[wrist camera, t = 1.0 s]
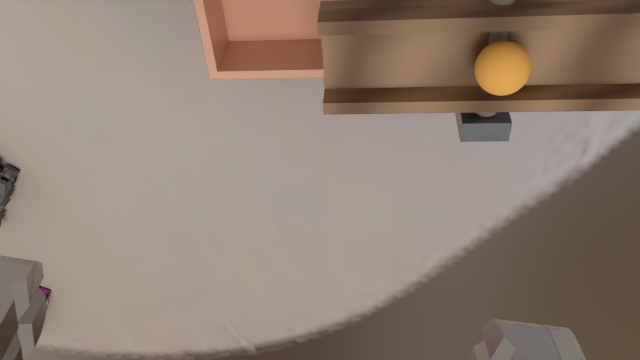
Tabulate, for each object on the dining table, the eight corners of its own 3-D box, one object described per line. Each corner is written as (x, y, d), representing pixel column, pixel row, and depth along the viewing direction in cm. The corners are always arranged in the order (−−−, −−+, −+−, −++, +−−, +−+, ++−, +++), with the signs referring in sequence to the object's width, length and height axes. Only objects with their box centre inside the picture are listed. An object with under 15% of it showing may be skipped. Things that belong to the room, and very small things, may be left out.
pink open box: (353, -71, 39) (351, -43, 35) (356, 41, 44) (354, 76, 41) (203, -65, 40) (185, -36, 36) (223, 44, 45) (210, 79, 41)
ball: (527, 29, 33) (542, 56, 30) (518, 76, 34) (532, 104, 32) (472, 32, 33) (483, 59, 30) (467, 78, 35) (477, 107, 32)
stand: (552, -120, 36) (598, -63, 29) (518, 66, 45) (547, 147, 37) (357, -110, 37) (353, -53, 30) (360, 69, 46) (358, 148, 38)
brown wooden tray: (697, -36, 31) (721, -14, 29) (647, 101, 37) (664, 128, 34) (319, -23, 33) (315, -1, 31) (327, 106, 38) (325, 131, 36)
